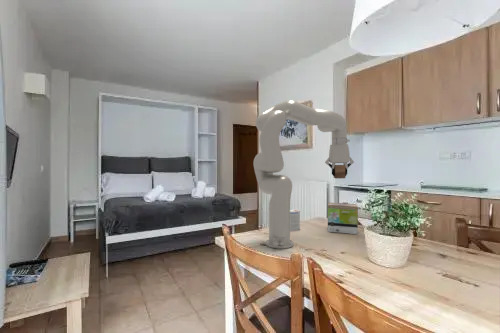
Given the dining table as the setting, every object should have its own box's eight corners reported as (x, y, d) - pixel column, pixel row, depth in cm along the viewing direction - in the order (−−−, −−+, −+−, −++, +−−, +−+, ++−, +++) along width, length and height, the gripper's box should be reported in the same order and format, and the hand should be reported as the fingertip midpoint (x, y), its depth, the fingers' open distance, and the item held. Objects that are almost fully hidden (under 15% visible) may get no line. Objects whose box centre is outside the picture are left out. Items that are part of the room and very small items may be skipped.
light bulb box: (279, 227, 151) (279, 208, 151) (289, 225, 154) (289, 207, 154) (290, 231, 141) (290, 211, 141) (300, 230, 144) (300, 210, 144)
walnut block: (345, 178, 136) (345, 164, 136) (335, 178, 137) (335, 165, 137) (343, 177, 141) (343, 164, 141) (333, 177, 142) (333, 164, 142)
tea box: (327, 232, 139) (327, 204, 139) (327, 227, 149) (327, 202, 149) (358, 234, 135) (358, 206, 135) (356, 229, 144) (356, 203, 144)
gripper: (354, 141, 141) (354, 175, 142) (321, 142, 144) (322, 175, 144) (357, 140, 134) (358, 176, 134) (323, 141, 136) (323, 176, 137)
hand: (339, 175), depth 139 cm, fingers closed on walnut block, 5 cm apart
